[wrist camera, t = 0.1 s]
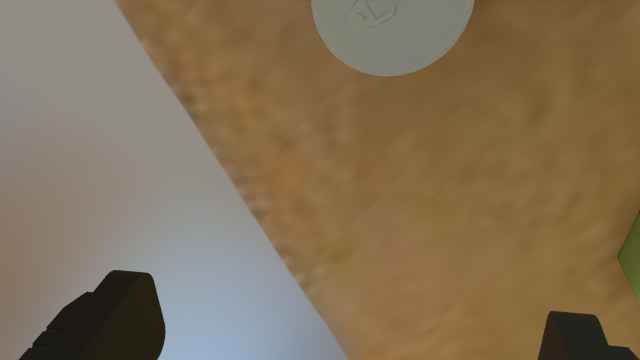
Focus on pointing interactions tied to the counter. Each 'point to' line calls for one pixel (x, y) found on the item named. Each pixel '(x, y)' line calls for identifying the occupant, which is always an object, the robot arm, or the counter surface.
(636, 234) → the canister
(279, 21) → the counter surface
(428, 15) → the canned food
